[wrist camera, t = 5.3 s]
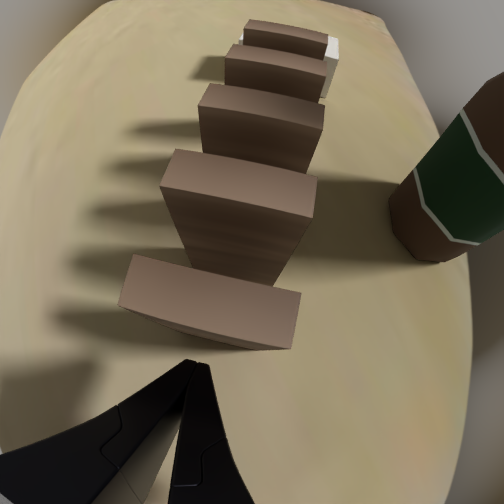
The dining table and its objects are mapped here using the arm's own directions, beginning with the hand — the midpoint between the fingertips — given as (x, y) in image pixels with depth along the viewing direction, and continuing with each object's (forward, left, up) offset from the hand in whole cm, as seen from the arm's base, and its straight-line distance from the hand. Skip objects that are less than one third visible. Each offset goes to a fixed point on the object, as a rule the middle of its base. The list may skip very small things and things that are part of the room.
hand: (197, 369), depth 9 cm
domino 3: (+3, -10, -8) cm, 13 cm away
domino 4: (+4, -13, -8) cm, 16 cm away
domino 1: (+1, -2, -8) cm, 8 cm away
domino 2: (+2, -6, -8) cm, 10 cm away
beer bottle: (-9, -17, -8) cm, 21 cm away
